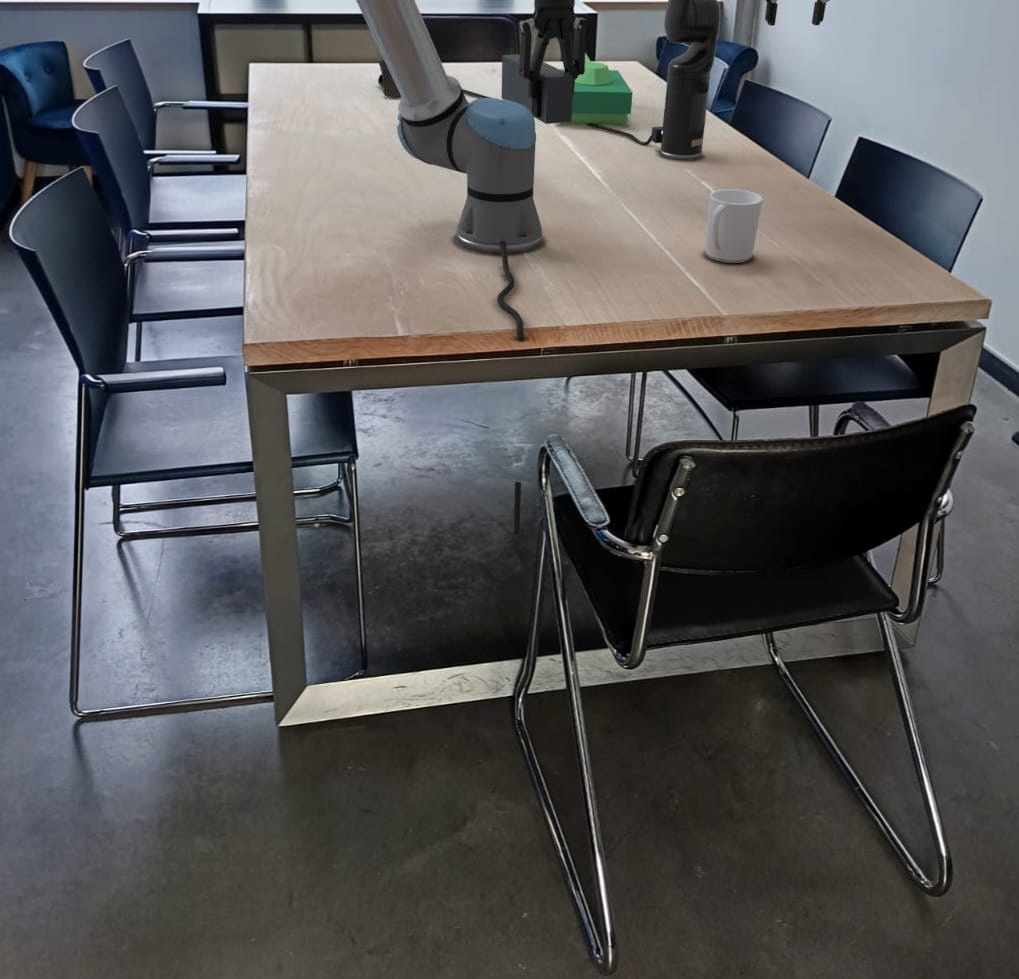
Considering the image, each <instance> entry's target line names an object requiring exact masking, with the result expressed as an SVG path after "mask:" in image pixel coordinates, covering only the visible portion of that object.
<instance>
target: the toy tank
mask: <svg viewBox="0 0 1019 979" xmlns="http://www.w3.org/2000/svg"><path fill="white" fill-rule="evenodd" d="M608 66H609V65H607V64H605V63H602V62H595V61H591V59H590V58H589V55H587V53H586V52H585V72H584V74H582V75H581V74H580V75H578V78H577V79H575V86H574V95H573V100H572V120H571V122H565V123H558V124H559V125H565V126H567V125H570V126H571V125H572V126H574V125H575V126H587V125H586V124H589V123H593V124H597V125H600V126H626V125H627V122H628V115H631V114H632V104H633V91H632V89H631V88H630V86H629V84H628V83H627V82H626V80H625V78H624V77H623V75H622V74H621V73H620V71H619V70H618V69H617V70H615V69H610V68H609V67H608ZM558 69H559V70H561V71H564V72H565V70H564V68H558Z"/></svg>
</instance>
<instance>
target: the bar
mask: <svg viewBox="0 0 1019 979" xmlns="http://www.w3.org/2000/svg"><path fill="white" fill-rule="evenodd" d="M501 55H502V56H501V100H504V99H505V100H510V101H513V102H516V103H519V104H521V105H523V106H525V107H527V108H528V109H529V110H530V111H531V112H532V98H530V97H529V96H528V79H527V78H524V77H522V76H520V75H519V60H520V53H518V54H501ZM532 56H533V55H531V59H530V64H531V60H532ZM559 69H560V68H557V67H555V66H553V65H551V64H549V63H546V62H545V61H543V62H542V66H541V70H540V73H539V77H538V80H540V81H542V89H541V117H536V116H534V115H533V116H534V119H536V120H538V121H540V122H542V123H543V124H545V125H551V124H559V123H565V122H571V120H572V100H573V80H574V76H572V75H570V74H568V73H566V72H564V71H561V70H559Z"/></svg>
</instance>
